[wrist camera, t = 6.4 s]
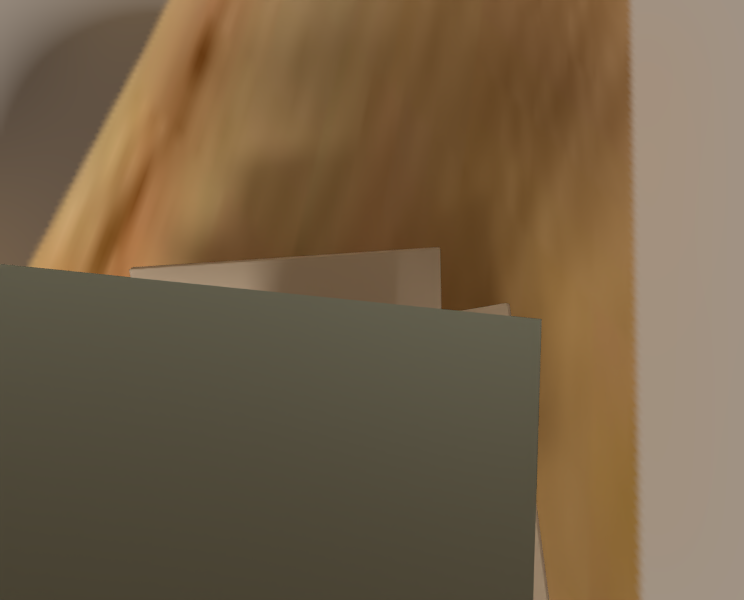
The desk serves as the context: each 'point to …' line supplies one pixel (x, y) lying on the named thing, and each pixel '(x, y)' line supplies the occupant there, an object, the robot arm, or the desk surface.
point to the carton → (341, 295)
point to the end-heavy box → (260, 444)
